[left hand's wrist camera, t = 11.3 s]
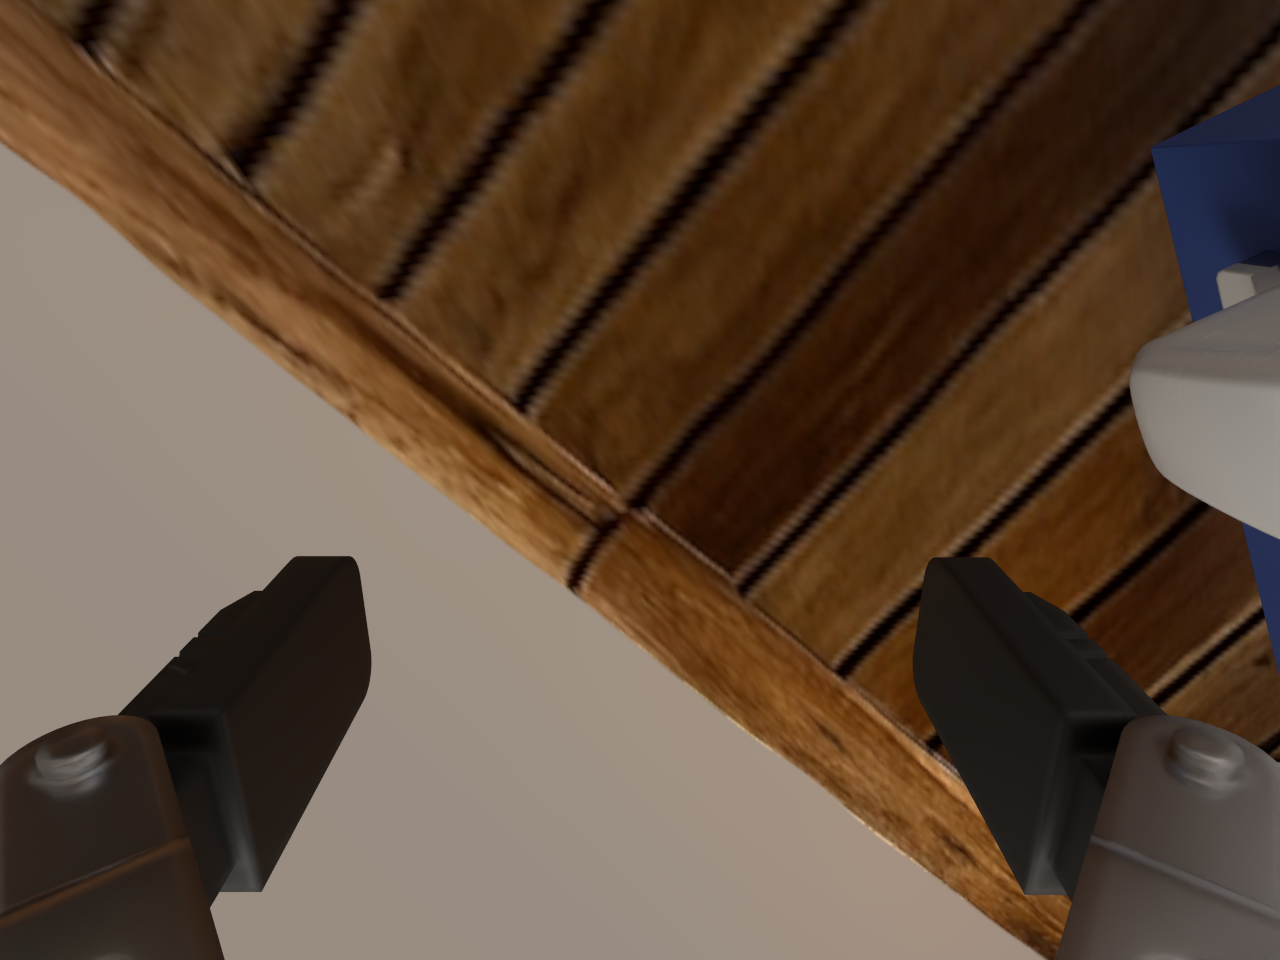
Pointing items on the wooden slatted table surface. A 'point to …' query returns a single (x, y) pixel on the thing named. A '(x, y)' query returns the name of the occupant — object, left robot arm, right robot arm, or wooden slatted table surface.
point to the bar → (1227, 241)
